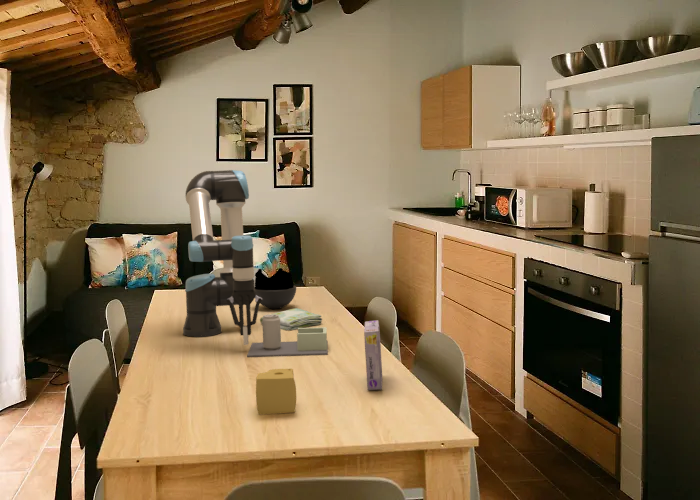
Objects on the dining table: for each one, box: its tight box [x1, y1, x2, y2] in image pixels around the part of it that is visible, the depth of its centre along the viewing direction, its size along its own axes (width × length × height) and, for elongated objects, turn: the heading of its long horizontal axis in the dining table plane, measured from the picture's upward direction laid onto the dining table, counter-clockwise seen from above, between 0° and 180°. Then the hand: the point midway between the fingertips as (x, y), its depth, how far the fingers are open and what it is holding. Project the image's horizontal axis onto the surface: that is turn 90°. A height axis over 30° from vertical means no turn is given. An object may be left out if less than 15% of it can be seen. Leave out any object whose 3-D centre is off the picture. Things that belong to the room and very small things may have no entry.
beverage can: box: [261, 313, 282, 350], centre depth 287 cm, size 6×6×12 cm
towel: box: [259, 307, 323, 331], centre depth 333 cm, size 18×21×5 cm
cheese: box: [255, 368, 297, 416], centre depth 218 cm, size 10×11×10 cm
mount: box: [246, 326, 329, 358], centre depth 287 cm, size 20×28×7 cm
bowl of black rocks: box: [254, 267, 297, 310], centre depth 369 cm, size 20×20×19 cm
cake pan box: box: [363, 319, 383, 391], centre depth 241 cm, size 19×5×18 cm, turn 178°
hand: (246, 344), depth 287 cm, fingers closed
